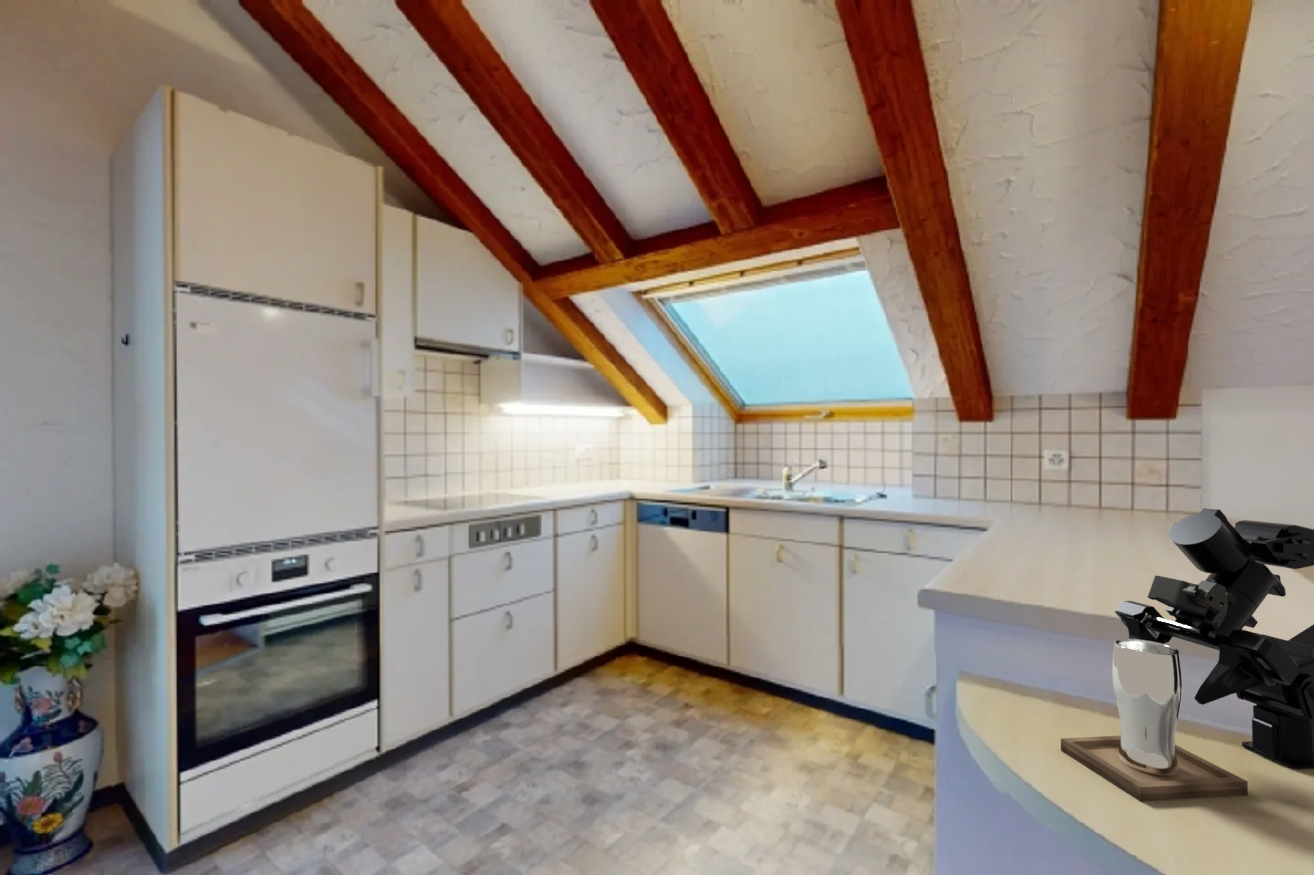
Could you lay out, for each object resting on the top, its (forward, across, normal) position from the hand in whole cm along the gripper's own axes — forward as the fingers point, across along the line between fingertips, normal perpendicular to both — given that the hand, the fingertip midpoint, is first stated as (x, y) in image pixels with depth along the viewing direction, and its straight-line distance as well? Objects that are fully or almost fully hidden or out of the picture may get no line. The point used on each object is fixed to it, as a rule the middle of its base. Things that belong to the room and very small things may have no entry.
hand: (1160, 687), depth 77 cm
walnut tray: (+9, 0, +6) cm, 11 cm away
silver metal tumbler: (+8, 0, +6) cm, 10 cm away
